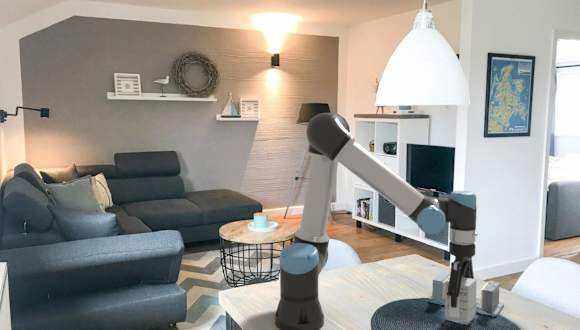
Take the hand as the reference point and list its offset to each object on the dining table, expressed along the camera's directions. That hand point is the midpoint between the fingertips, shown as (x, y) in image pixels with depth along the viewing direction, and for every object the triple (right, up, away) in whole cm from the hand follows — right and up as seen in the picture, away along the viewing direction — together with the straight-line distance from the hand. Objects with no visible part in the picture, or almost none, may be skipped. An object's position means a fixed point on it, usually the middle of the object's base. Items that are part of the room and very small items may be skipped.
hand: (460, 309), depth 149 cm
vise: (+6, -2, +12) cm, 14 cm away
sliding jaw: (0, 0, +16) cm, 16 cm away
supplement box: (0, -3, 0) cm, 3 cm away
